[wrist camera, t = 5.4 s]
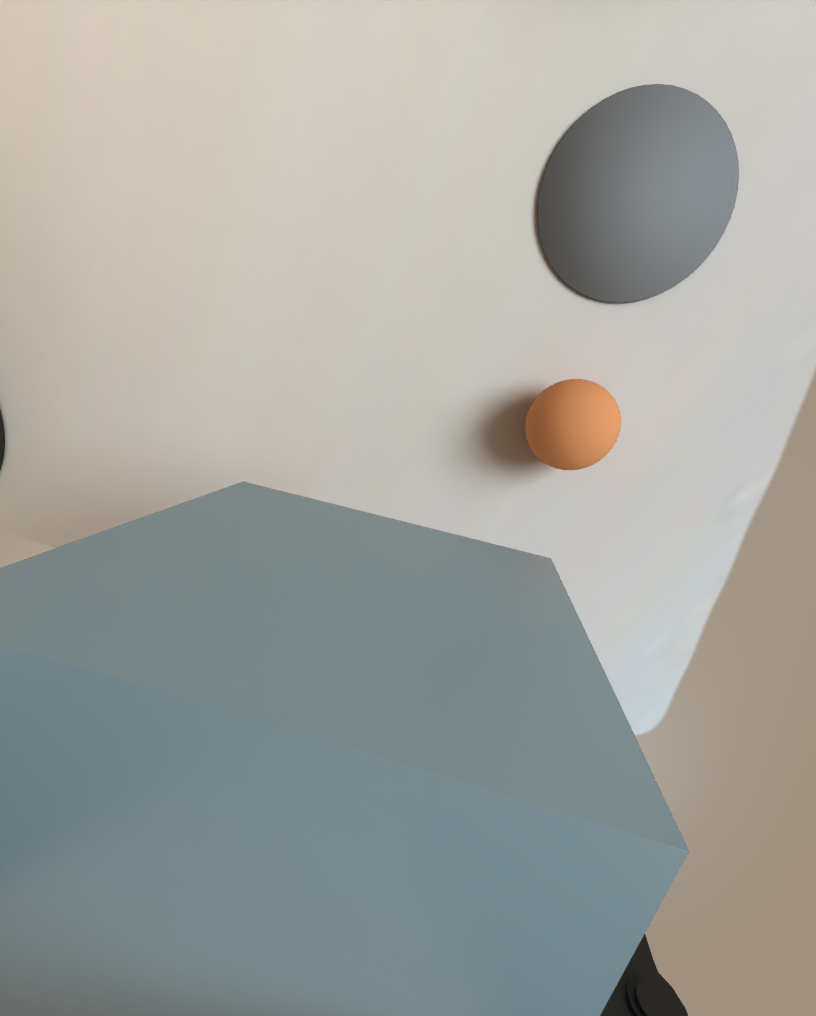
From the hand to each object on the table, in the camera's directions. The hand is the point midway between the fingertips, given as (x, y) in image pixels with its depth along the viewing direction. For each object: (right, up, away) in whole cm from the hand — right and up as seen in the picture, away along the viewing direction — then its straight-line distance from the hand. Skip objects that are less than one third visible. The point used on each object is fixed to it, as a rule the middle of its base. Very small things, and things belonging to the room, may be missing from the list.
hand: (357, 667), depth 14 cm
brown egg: (+11, +10, +10) cm, 18 cm away
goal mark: (+14, +22, +9) cm, 27 cm away
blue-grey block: (0, 0, +1) cm, 1 cm away
